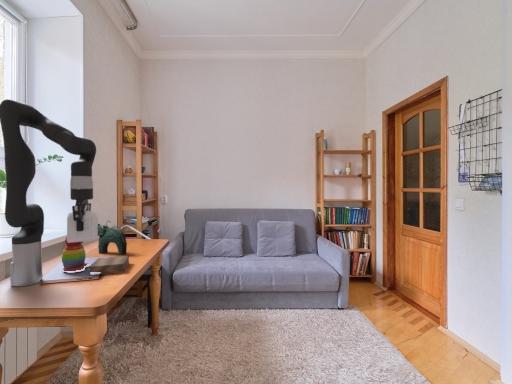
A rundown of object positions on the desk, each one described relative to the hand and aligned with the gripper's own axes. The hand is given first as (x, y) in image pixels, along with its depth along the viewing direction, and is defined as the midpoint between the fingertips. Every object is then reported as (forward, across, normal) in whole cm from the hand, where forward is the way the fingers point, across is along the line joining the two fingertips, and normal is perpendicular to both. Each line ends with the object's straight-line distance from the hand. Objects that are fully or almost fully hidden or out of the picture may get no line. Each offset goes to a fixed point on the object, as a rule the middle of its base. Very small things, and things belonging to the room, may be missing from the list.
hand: (82, 229), depth 102 cm
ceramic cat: (+23, -52, -1) cm, 57 cm away
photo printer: (+5, 0, 0) cm, 5 cm away
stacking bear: (+23, -24, -11) cm, 35 cm away
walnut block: (+23, -20, +5) cm, 31 cm away
